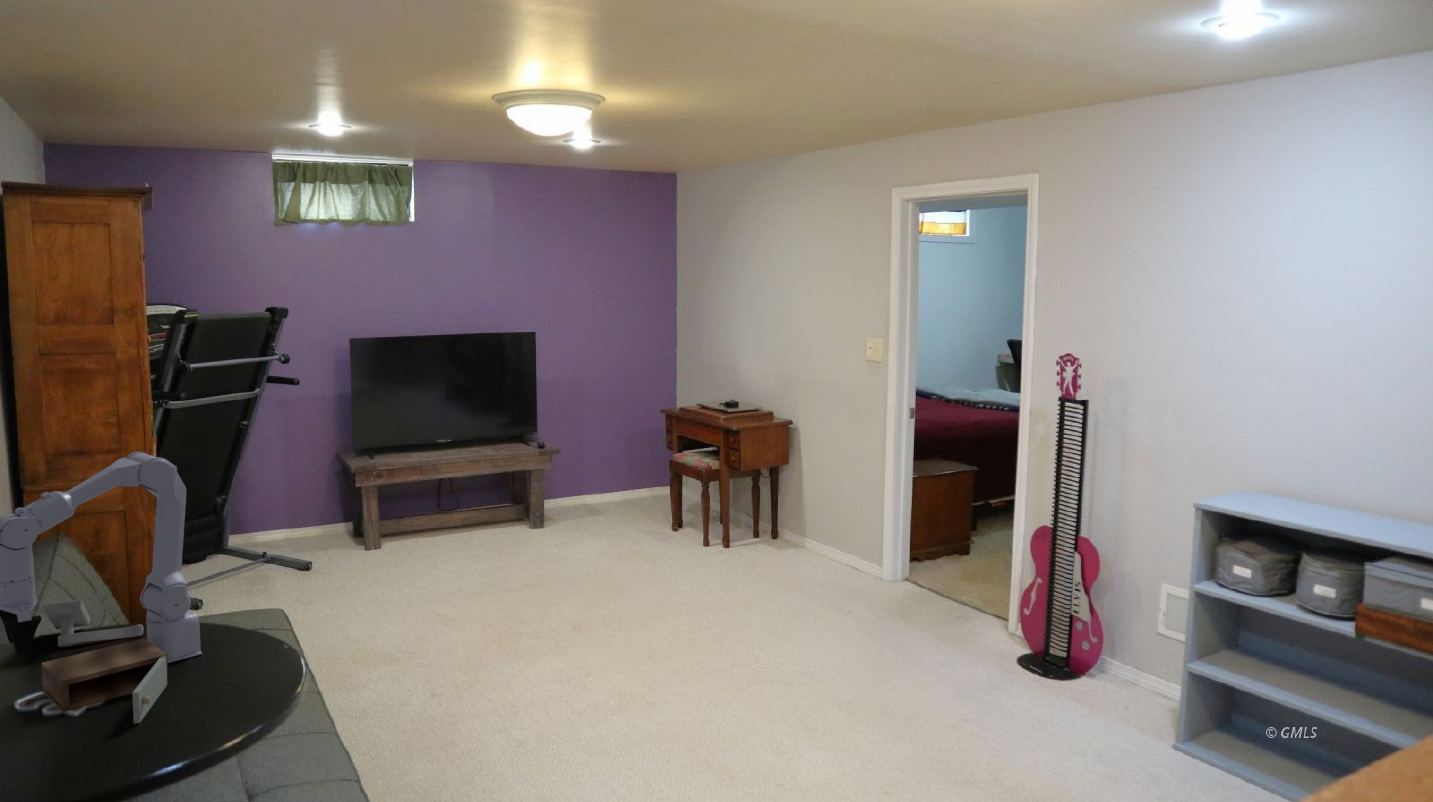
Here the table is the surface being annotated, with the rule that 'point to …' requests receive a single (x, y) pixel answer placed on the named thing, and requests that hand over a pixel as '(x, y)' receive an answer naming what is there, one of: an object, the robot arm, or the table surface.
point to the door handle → (82, 624)
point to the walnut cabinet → (98, 674)
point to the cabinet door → (149, 689)
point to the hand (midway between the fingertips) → (20, 647)
